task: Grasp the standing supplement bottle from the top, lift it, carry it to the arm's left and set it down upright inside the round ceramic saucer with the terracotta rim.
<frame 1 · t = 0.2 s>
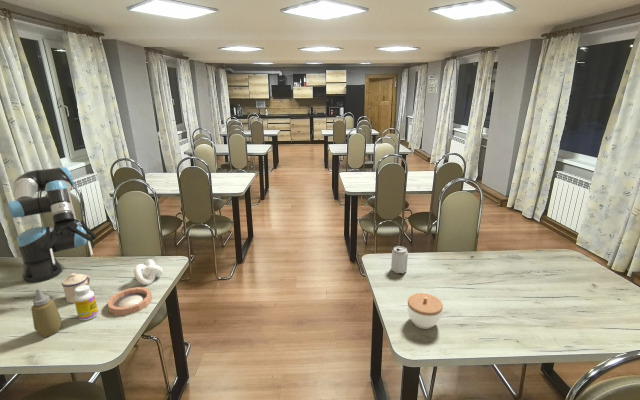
hand: (73, 259, 150), 16 cm above the table, tool tilted 35°, fingers open, 13 cm apart
teacup with lid: (81, 296, 152), on the table
white decorative knot: (148, 281, 163), on the table
lidded bowl: (423, 323, 133), on the table
can: (398, 271, 171), on the table
supplement bottle: (89, 316, 138), on the table
saucer tray: (131, 303, 146), on the table
squeeze bottle: (50, 332, 129), on the table
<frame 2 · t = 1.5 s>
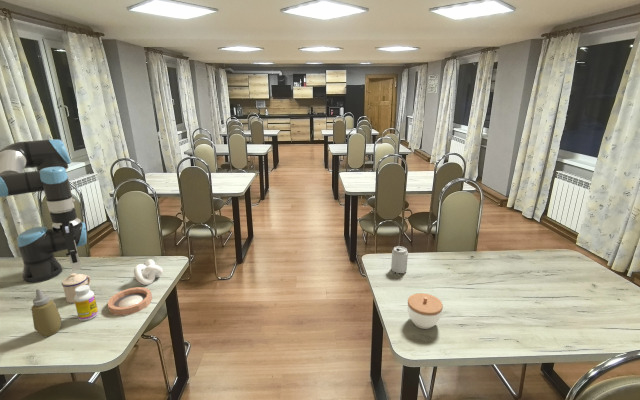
hand: (75, 263, 131), 23 cm above the table, tool pointing down, fingers open, 13 cm apart
nothing on the table moved.
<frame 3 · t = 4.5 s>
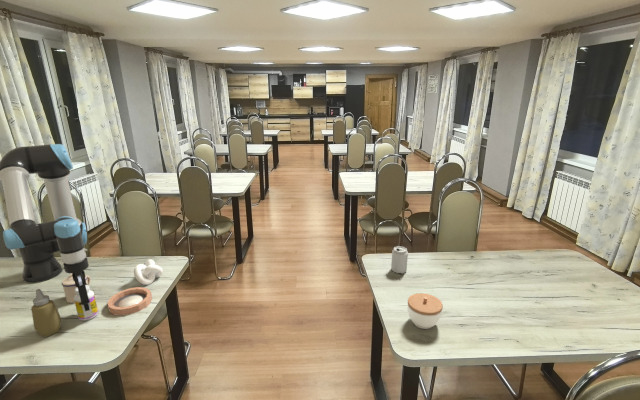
hand: (87, 311, 137), 2 cm above the table, tool pointing down, fingers closed on supplement bottle, 7 cm apart
supplement bottle: (89, 316, 138), on the table, touching gripper
everything else where it was.
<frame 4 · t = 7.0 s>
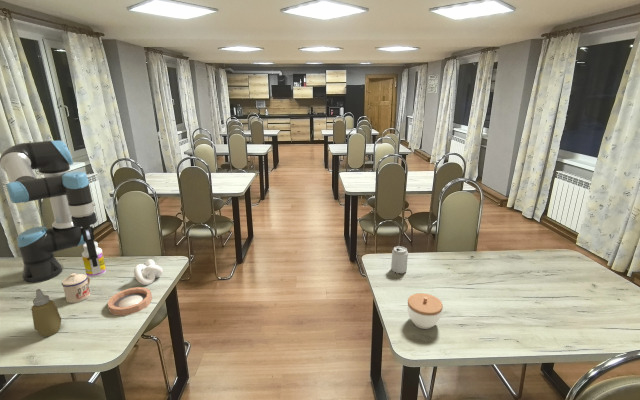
hand: (96, 269, 135), 19 cm above the table, tool pointing down, fingers closed on supplement bottle, 7 cm apart
supplement bottle: (97, 274, 136), point 17 cm above the table, touching gripper
everything else where it was.
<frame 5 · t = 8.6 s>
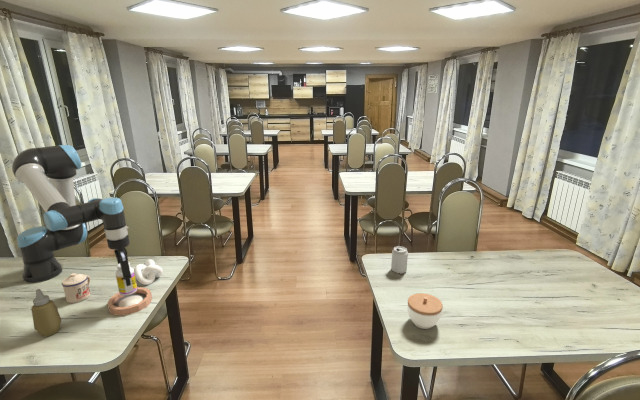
hand: (127, 287, 144), 8 cm above the table, tool pointing down, fingers closed on supplement bottle, 7 cm apart
supplement bottle: (128, 292, 144), point 5 cm above the table, touching gripper
everything else where it was.
when the fingers open (4 cm above the table, at t = 9.6 s): supplement bottle drops 1 cm, resting on saucer tray.
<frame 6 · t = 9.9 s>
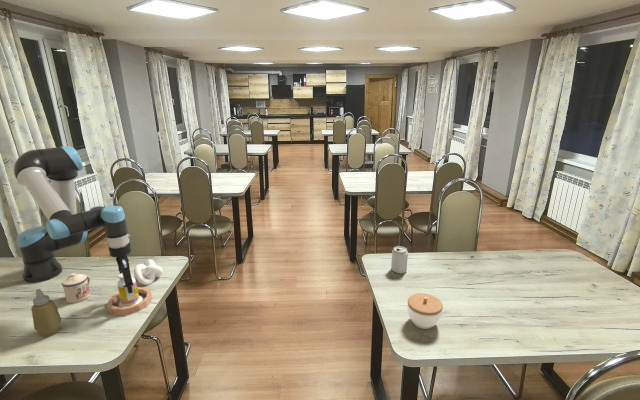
hand: (129, 293, 145), 5 cm above the table, tool pointing down, fingers open, 9 cm apart
supplement bottle: (130, 301, 146), point 1 cm above the table, touching saucer tray
everything else where it was.
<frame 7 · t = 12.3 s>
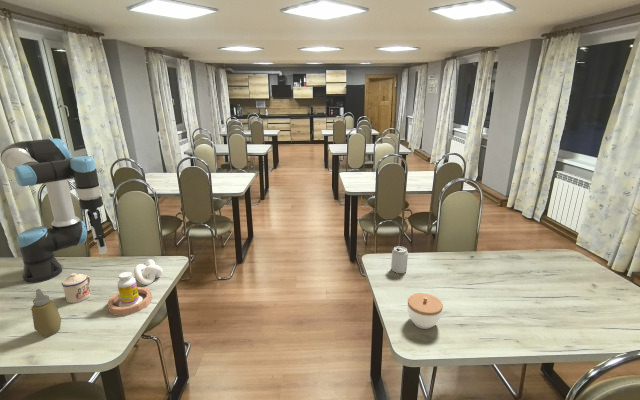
hand: (100, 247, 139), 26 cm above the table, tool pointing down, fingers open, 13 cm apart
nothing on the table moved.
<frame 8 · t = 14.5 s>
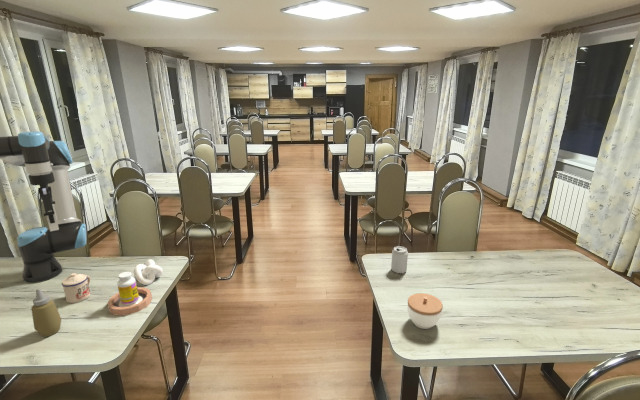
hand: (54, 225, 138), 35 cm above the table, tool pointing down, fingers open, 13 cm apart
nothing on the table moved.
at the end: supplement bottle 0.2 cm from the saucer tray (horizontally); supplement bottle tilted 0°; supplement bottle touching saucer tray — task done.
